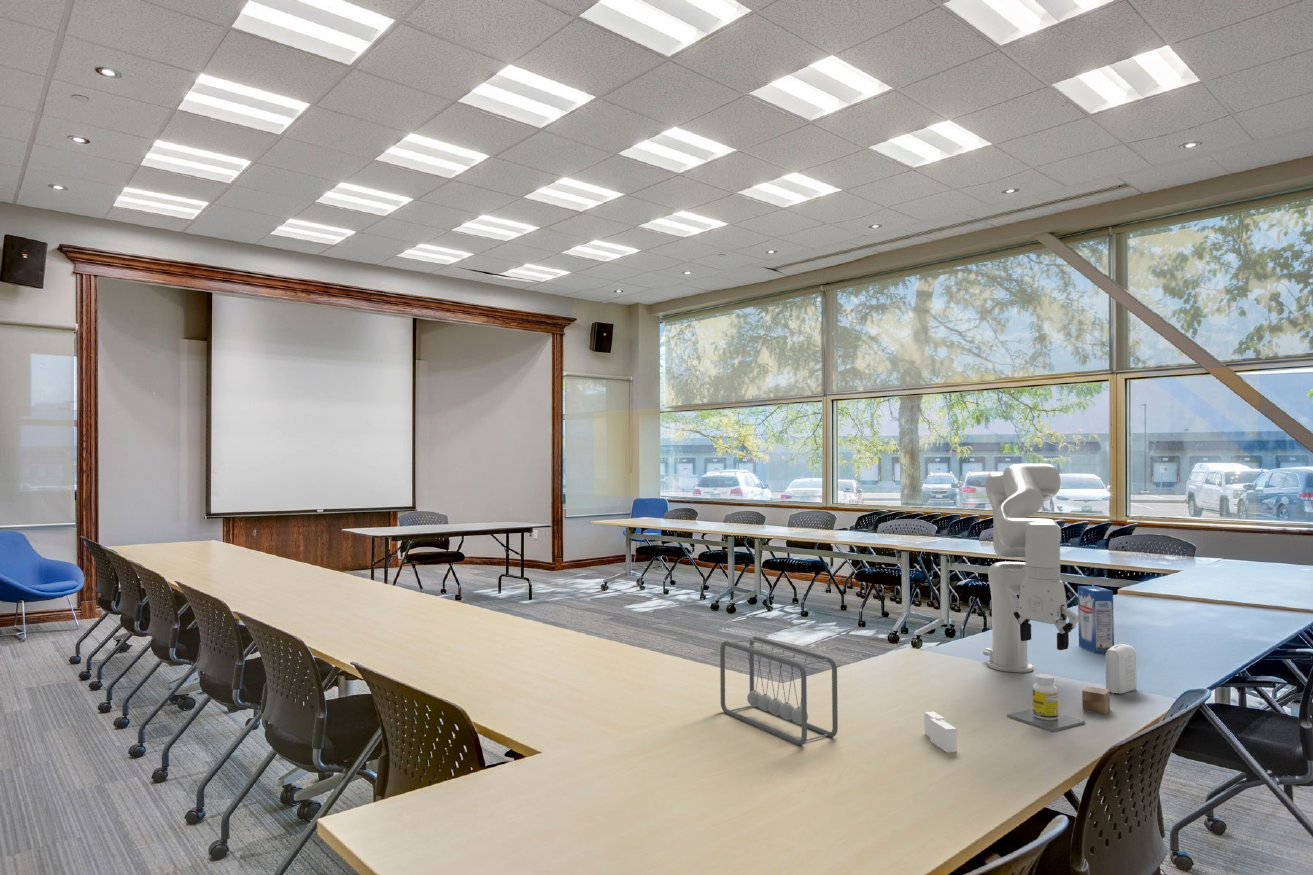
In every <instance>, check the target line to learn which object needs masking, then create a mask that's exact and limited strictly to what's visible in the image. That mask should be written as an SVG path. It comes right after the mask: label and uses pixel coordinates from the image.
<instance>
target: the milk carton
mask: <svg viewBox="0 0 1313 875" xmlns="http://www.w3.org/2000/svg"><path fill="white" fill-rule="evenodd" d="M1077 606H1078V607H1077V612H1078V613H1077V616H1079V620H1078V621H1077V623H1078V647H1080V646H1081V647H1080V648H1083V649H1085V648H1086V649H1085V650H1086V651H1089V650H1091V651H1090V652H1092V651H1093V653H1095V654H1106V652H1107V651H1108V650H1109V649H1110V648H1111V647H1113V646H1115V626H1114V624H1115V623H1114V616H1115V615H1114V590H1111V589H1107V588H1104V587H1099V586H1096V585H1095V586H1094V585H1093V586H1091V585H1090V586H1087V585H1085V586H1083V585H1080V586H1079V585H1078V586H1077Z"/></svg>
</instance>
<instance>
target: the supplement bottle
mask: <svg viewBox="0 0 1313 875" xmlns="http://www.w3.org/2000/svg"><path fill="white" fill-rule="evenodd" d="M1054 678H1055V676H1053V675H1050V674H1046V673H1036V674H1035V683H1034V684H1032V709H1033V715H1034V716H1035V717H1036V718H1039V719H1042V720H1056V719H1058V713H1059V698H1058V697H1059V696H1058V688H1057V686H1056V685H1054V684H1055V679H1054Z"/></svg>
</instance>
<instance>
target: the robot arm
mask: <svg viewBox="0 0 1313 875" xmlns="http://www.w3.org/2000/svg"><path fill="white" fill-rule="evenodd" d="M1061 480H1062V479H1061V476H1060V473H1059V470H1058V469H1057V468H1056V467H1055V465H1052V464H1049V463H1017V464H1011V465H1009V466H1008V467H1006V468H1005V469H1004V470H1003V472H995V473H991V474H988V476H987V477H986V478H985V492H986V496H987V498H988V501H989V504H990V506H991V509H992V513H993V514H992V517H993V520H992V521H993V523H992V524H993V525H992V526H993V530H992V532H993V534H992V535H993V538H992V539H993V550H994V553H995V555H997V556H998V557H1001V558H1004V559H1005V558H1006V559H1025V562H1024V561H1023V562H1022V561H998V562H994V563H992V564H991V565H990V566H989V568H988V571H987V573H988V574H987V576H988V583H989V584H988V585H989V589H990V596H991V621H992V622H991V624H992V628H991V629H992V632H991V633H992V639H991V640H992V648H989V647H986V648H984V650H983V653H982V655H983V656H988V657H989V659H988V660H987V666H988V667H989V668H990V669H993V670H997V671H1001V672H1006V673H1018V674H1019V673H1020V674H1021V673H1029V672H1032V671H1033V670H1034V665H1033V664H1031V663H1030V662H1028V641H1031V640H1032V624H1031V623H1030V622H1031V621H1034V622H1038V623H1043V624H1049V625H1054V626H1055V628H1056V629H1057V631H1058V632H1057V633H1056V649H1057V650H1058V651H1063V650H1064V651H1065V650H1067V649H1068V648H1069V645H1070V643H1069V641H1070V640H1069V639H1070V638H1069V635H1070V634H1069V633H1071V631H1072V630H1073V629H1075V628H1076V627H1077V626H1076V624H1077V623H1078V620H1079V616H1078V614H1076V613H1075V612H1074V611H1072V610H1071V609H1069V608H1068V605H1067V597H1066V596H1067V595H1066V589H1065V585H1064V581H1063V580H1061V541H1062V528H1061V526H1060V525H1059V524H1058V523H1057V521H1055V520H1053V519H1051V518H1033V517H1030V516H1033V515H1035V514H1036V513H1038V512H1039V511H1040V510H1041V509H1042V507H1043V504H1044V502H1048V501H1050V500H1051V499H1052V498H1054V497H1055V496H1056V495H1057V494H1058V493H1059V490H1060V489H1061V485H1062V484H1061V483H1062V482H1061ZM1028 517H1029V518H1028ZM1017 595H1018V596H1019V598H1018V596H1017ZM1067 618H1068V622H1067Z"/></svg>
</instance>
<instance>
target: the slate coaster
mask: <svg viewBox="0 0 1313 875" xmlns="http://www.w3.org/2000/svg"><path fill="white" fill-rule="evenodd" d="M1006 717H1007V718H1009V719H1012V720H1015V721H1018V722H1022V723H1025V724H1028V725H1030V726H1035V727H1037V728H1039V729H1042V730H1045V731H1049V732H1052V733H1053V732H1056V731H1061V730H1065V729H1069V728H1073V727H1077V726H1082V725H1085V724H1086V720H1084V719H1080V718H1078V717H1077V718H1076V717H1073V716H1070V715H1066V714H1064V713H1061V712H1058V719H1056V720H1042V719H1039V718H1036V717H1035V716H1034V715H1033V708H1028V709H1023V710H1020V711H1015V712H1012V713H1011V712H1010V713H1007V714H1006Z"/></svg>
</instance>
